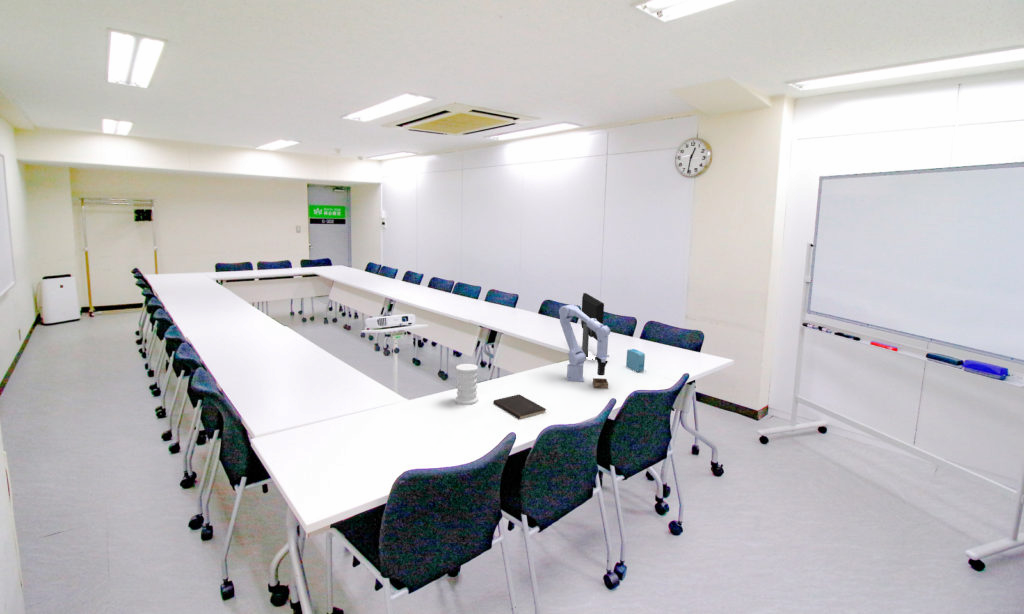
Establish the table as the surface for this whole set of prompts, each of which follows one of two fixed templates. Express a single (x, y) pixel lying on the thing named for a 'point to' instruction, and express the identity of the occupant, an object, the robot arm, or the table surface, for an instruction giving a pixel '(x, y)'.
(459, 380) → the decorative container
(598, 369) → the battery cell
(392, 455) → the table surface
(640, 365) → the data package
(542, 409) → the hardcover book
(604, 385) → the brown square tray
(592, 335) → the computer monitor
